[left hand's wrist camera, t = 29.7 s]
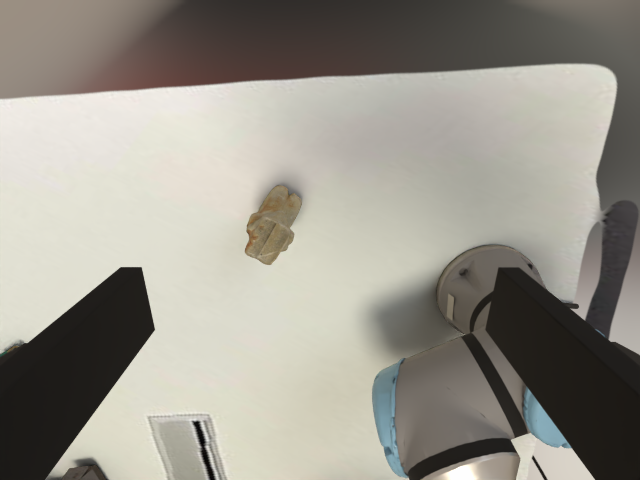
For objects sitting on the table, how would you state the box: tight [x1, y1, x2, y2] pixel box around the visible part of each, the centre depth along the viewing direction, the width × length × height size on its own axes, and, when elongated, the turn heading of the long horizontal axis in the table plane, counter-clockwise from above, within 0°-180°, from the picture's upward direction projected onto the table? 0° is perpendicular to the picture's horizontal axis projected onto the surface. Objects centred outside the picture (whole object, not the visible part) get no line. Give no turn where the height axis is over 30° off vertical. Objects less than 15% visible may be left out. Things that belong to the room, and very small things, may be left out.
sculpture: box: [245, 185, 302, 265], centre depth 42 cm, size 6×7×15 cm
